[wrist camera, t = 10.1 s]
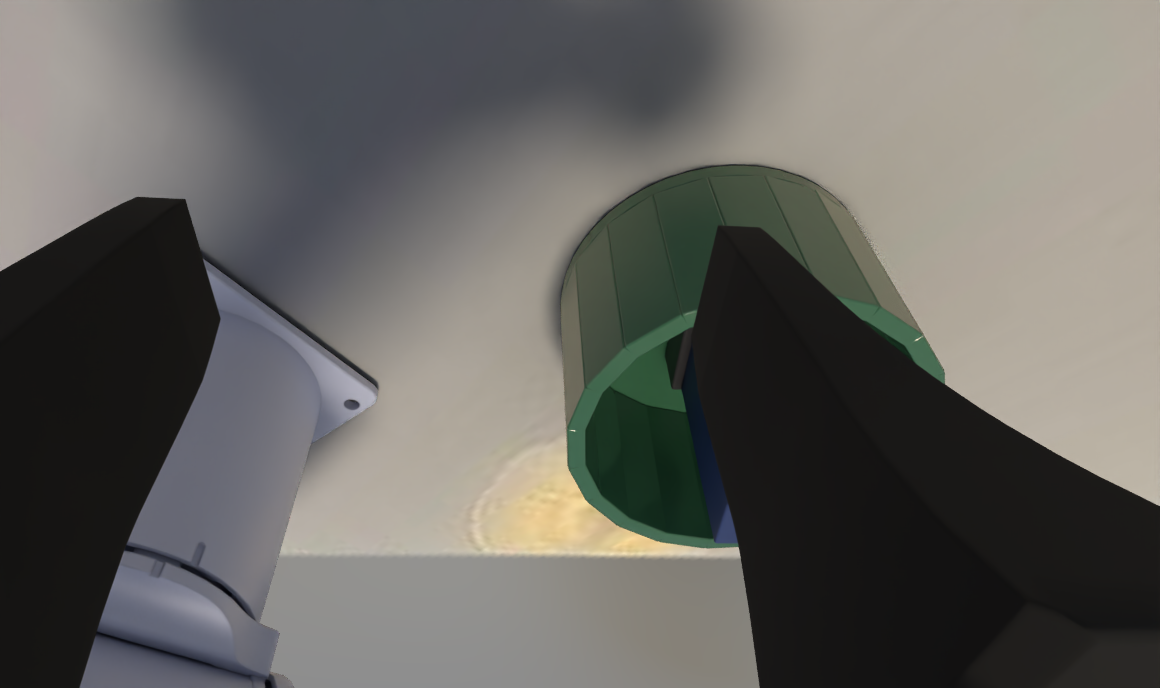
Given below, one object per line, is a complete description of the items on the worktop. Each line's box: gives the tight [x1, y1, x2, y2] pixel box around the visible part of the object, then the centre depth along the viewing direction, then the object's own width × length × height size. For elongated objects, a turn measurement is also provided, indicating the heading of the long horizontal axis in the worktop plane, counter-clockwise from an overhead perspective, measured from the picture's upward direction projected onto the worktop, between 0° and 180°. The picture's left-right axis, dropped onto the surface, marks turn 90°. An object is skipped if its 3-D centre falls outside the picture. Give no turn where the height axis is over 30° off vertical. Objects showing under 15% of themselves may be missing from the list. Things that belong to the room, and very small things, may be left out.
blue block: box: [665, 328, 738, 543], centre depth 21 cm, size 4×3×8 cm
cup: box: [560, 165, 945, 548], centre depth 22 cm, size 10×10×6 cm
